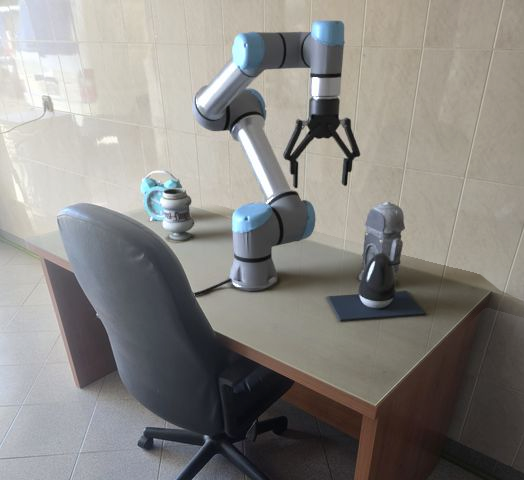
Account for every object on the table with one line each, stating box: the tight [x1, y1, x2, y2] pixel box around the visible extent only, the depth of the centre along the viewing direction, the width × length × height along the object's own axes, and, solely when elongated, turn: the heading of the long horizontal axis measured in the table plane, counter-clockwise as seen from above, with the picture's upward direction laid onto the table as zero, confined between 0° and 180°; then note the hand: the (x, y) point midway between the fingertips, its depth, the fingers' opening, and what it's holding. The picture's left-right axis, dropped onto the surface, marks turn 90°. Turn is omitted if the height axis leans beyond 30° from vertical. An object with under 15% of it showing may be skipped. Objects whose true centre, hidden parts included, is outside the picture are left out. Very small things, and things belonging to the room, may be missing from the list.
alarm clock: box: [140, 169, 183, 222], centre depth 196 cm, size 17×10×20 cm, turn 80°
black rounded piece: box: [357, 253, 401, 308], centre depth 129 cm, size 10×10×15 cm
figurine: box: [358, 201, 406, 282], centre depth 140 cm, size 10×14×25 cm
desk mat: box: [327, 290, 426, 322], centre depth 133 cm, size 24×14×1 cm, turn 97°
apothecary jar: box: [160, 187, 195, 243], centre depth 178 cm, size 12×12×18 cm
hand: (319, 185), depth 127 cm, fingers open, 13 cm apart
